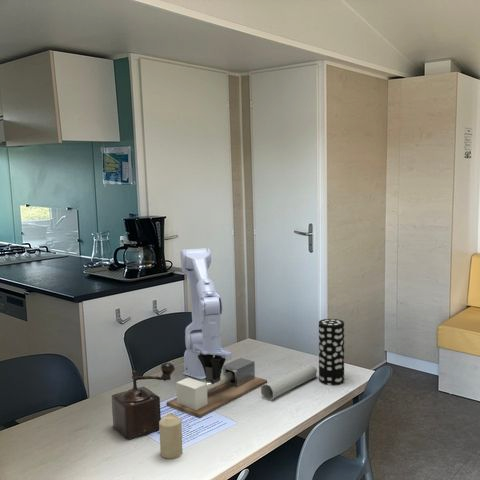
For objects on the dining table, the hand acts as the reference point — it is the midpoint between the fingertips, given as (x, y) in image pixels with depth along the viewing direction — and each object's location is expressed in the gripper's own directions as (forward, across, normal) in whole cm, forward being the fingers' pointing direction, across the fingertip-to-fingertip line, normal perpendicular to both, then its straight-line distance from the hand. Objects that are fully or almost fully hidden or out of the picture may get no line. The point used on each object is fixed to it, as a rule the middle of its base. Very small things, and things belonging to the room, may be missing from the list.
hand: (212, 376), depth 172 cm
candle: (+7, +15, -32) cm, 36 cm away
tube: (+7, +15, +21) cm, 27 cm away
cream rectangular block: (+6, 0, -9) cm, 11 cm away
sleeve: (+6, 0, +13) cm, 14 cm away
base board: (+6, 0, +3) cm, 7 cm away
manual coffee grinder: (+7, -2, -26) cm, 27 cm away
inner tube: (+4, 0, +3) cm, 5 cm away
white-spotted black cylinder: (+7, +23, +33) cm, 41 cm away
